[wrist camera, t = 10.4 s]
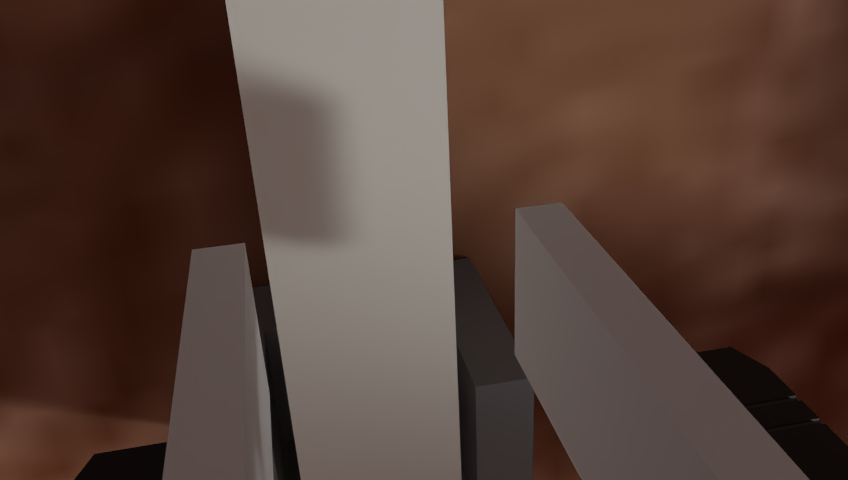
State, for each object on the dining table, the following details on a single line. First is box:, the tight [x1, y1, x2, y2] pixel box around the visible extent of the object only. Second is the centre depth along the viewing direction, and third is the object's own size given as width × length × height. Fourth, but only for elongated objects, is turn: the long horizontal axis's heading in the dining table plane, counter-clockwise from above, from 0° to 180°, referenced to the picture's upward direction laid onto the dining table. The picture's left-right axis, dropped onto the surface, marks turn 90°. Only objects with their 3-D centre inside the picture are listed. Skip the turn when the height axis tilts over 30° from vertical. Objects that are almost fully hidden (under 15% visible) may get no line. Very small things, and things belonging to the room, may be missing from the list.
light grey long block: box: [225, 0, 462, 480], centre depth 17 cm, size 16×4×6 cm, turn 3°
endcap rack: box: [252, 258, 534, 480], centre depth 19 cm, size 22×8×6 cm, turn 3°
